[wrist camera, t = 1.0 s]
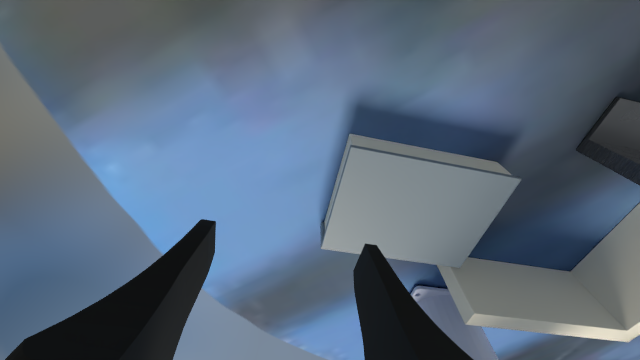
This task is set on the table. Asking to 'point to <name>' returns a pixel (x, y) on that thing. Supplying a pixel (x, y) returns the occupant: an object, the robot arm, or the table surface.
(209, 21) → the table surface
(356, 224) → the book
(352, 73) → the table surface
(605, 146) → the bookend
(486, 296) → the cream corner tray
